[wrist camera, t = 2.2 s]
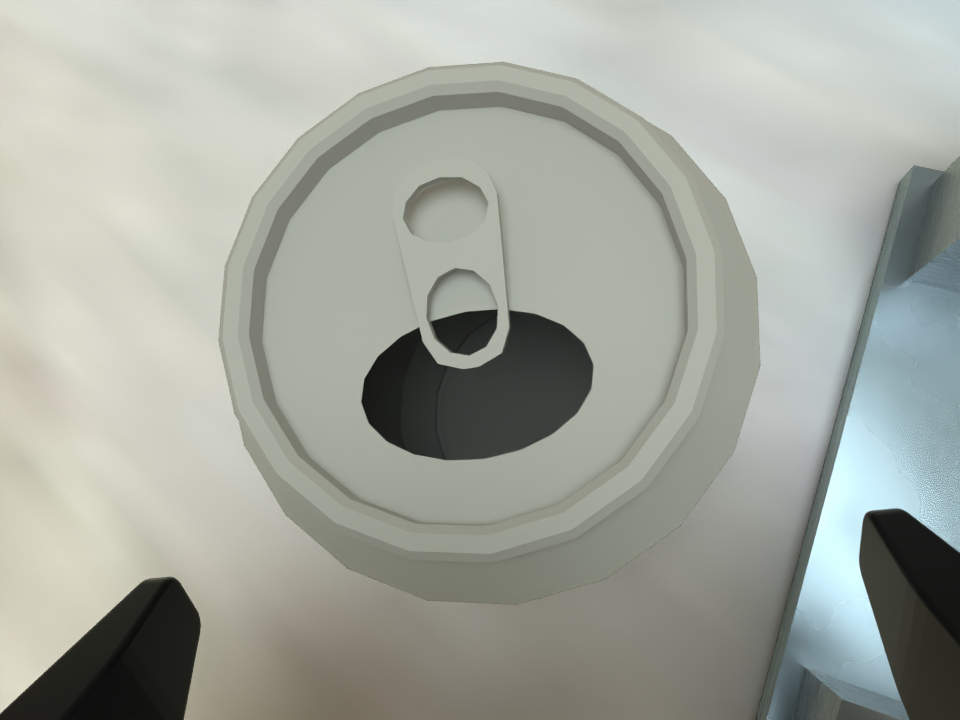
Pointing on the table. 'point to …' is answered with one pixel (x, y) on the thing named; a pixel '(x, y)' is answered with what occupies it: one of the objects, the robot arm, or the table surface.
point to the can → (488, 333)
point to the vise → (879, 462)
